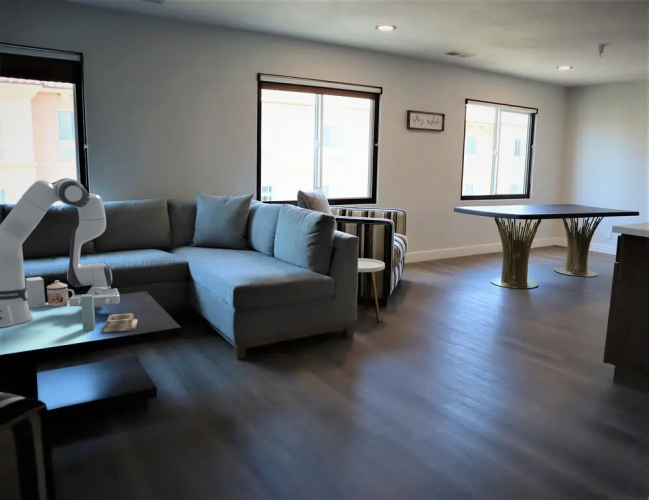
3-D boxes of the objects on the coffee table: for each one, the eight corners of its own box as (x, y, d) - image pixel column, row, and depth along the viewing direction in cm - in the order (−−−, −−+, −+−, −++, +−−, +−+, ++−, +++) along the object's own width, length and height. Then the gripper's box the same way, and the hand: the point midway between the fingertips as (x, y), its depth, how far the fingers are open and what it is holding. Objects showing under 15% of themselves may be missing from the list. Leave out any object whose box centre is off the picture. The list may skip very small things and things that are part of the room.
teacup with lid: (44, 307, 238) (42, 282, 236) (52, 302, 247) (50, 278, 245) (71, 306, 239) (69, 282, 238) (78, 301, 248) (76, 278, 247)
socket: (103, 332, 202) (102, 322, 201) (107, 323, 213) (106, 314, 212) (135, 329, 205) (134, 320, 204) (137, 321, 216) (137, 312, 216)
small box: (46, 306, 240) (43, 279, 238) (30, 308, 236) (28, 281, 234) (42, 302, 246) (40, 276, 244) (27, 304, 242) (25, 278, 240)
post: (83, 330, 203) (80, 296, 201) (84, 328, 207) (82, 294, 205) (93, 330, 204) (91, 296, 202) (95, 327, 208) (93, 294, 206)
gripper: (71, 290, 225) (65, 298, 212) (120, 288, 231) (117, 295, 218) (72, 304, 226) (66, 313, 213) (121, 301, 232) (118, 309, 218)
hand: (92, 304), depth 215 cm, fingers open, 8 cm apart
